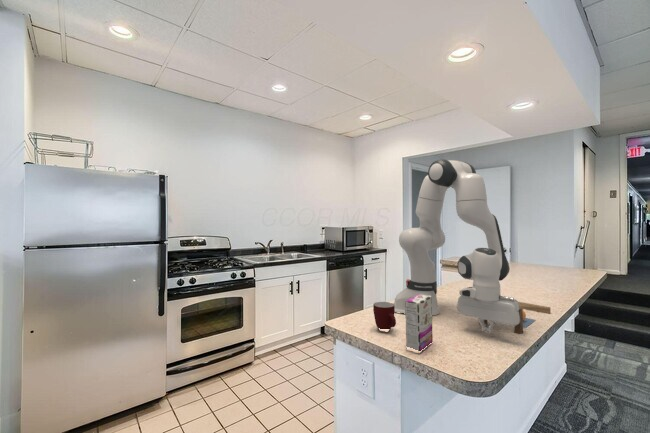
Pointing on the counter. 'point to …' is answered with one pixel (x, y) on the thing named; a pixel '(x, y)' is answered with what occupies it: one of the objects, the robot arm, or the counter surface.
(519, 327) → the bridge
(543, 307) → the wall
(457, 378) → the counter surface
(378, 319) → the mug
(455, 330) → the counter surface
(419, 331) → the candy bar box
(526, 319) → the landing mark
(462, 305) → the robot arm
